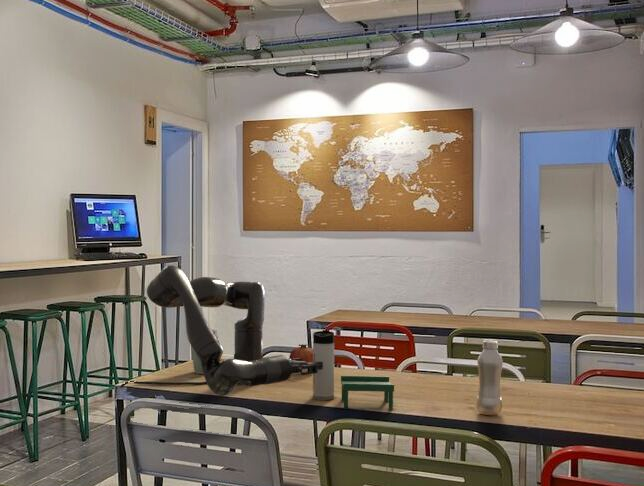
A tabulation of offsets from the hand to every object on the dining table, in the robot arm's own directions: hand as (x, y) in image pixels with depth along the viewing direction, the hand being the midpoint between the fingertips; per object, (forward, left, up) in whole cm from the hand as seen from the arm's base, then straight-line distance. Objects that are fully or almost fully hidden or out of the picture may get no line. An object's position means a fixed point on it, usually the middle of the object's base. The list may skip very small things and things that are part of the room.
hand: (311, 363), depth 218 cm
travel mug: (+4, +4, -11) cm, 12 cm away
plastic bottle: (+48, -13, -11) cm, 51 cm away
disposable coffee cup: (-37, +42, -11) cm, 57 cm away
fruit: (-2, +44, -11) cm, 45 cm away
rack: (+16, -4, -11) cm, 20 cm away
